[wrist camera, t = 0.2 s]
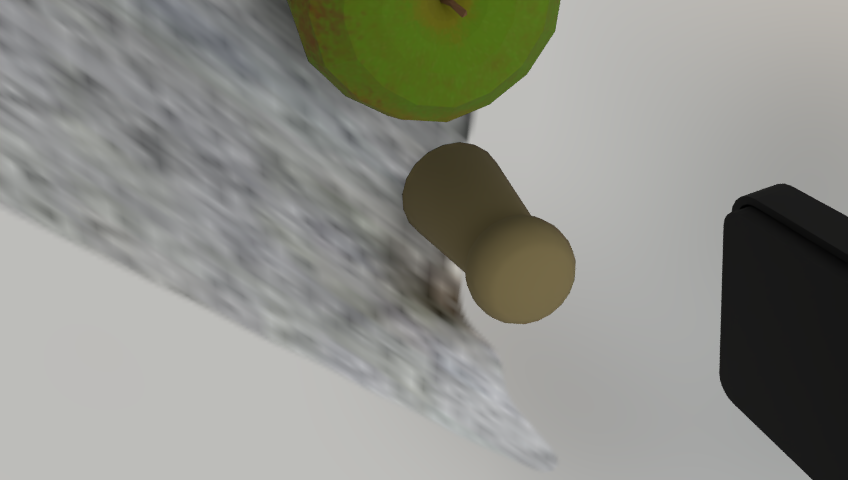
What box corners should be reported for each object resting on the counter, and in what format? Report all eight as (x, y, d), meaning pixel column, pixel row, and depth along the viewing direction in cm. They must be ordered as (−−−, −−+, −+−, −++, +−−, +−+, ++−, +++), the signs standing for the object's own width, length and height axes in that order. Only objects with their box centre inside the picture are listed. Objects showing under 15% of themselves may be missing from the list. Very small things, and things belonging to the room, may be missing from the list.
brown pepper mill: (397, 242, 44) (466, 350, 35) (407, 142, 42) (484, 231, 33) (493, 237, 46) (582, 338, 37) (508, 141, 44) (608, 225, 35)
